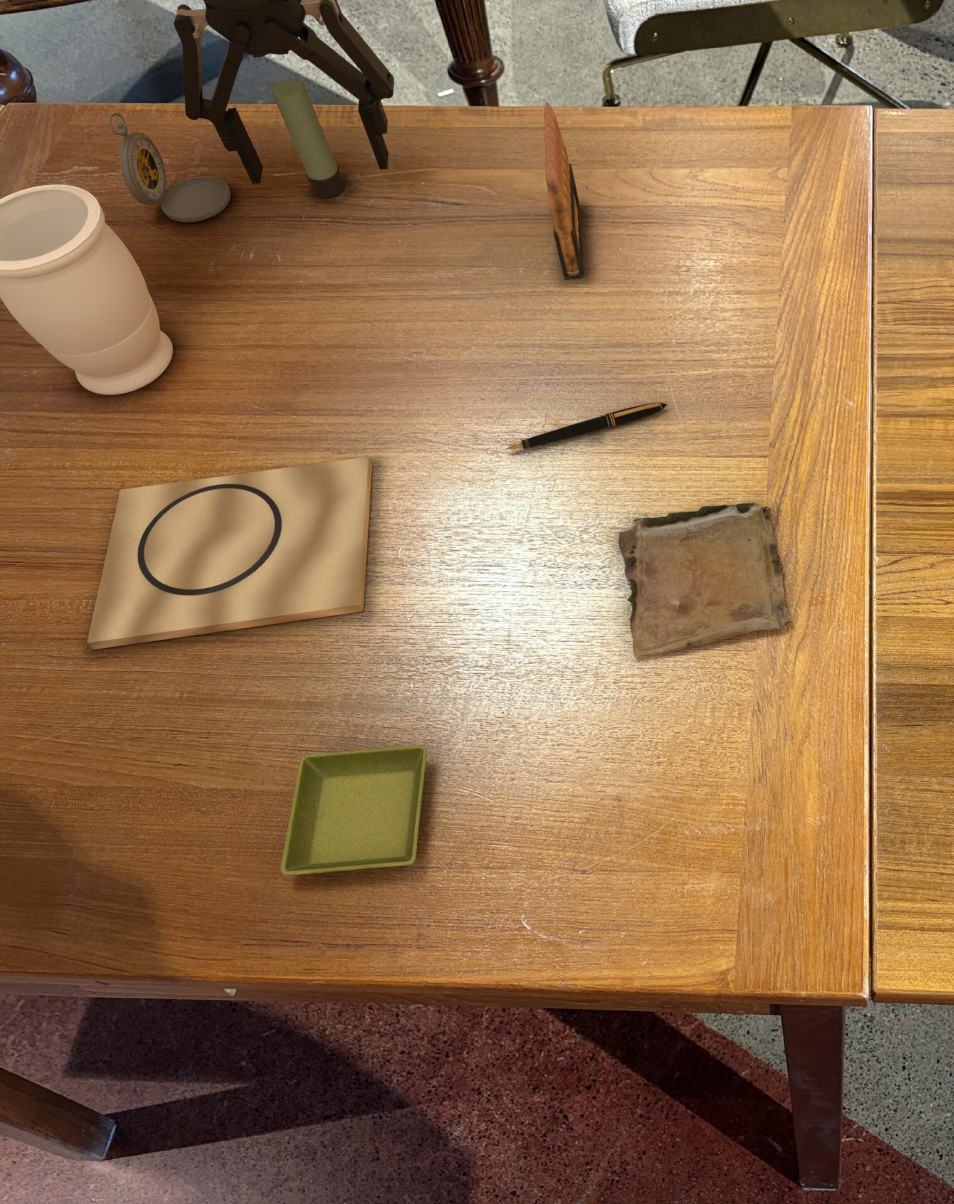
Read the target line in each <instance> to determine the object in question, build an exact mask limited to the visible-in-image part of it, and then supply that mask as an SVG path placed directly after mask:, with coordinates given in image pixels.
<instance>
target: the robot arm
mask: <svg viewBox="0 0 954 1204" xmlns="http://www.w3.org/2000/svg"><path fill="white" fill-rule="evenodd" d="M202 1H203V3H204V5H205V8H199V9H197V8H196V9H192V8H191V7H190V6H189V5H187V4H184V3H183V4H179V5H178V6H177V8H176V9H177V10H176V12H175V16H174V21H173V27H174V29H175V31H176V33H177V35H178V38H179V40H180V42H181V44H182V45H181V46H182V47H181V48H182V63H183V64H182V68H183V89H184V91H183V92H184V109H185V110H184V112H185V116H186V117H187V118H188V119H189V120H191V121H197V120H199V119H203V120H206V121H209V122H210V123H211V124H212V125H213V127H214V128H215V131H216V133H217V134H218V137H219V139H220V141H221V143H222V145H223V147H224V148H225V150H226V151H228V152H237V155H238V157H239V158H240V161H241V163H242V165H243V168H244V169H245V171H246V174H247V176H248V177H249V179H250V181H251V184H252V185H259V184H261V183H262V177H263V170H264V166H263V163H262V161H261V159H260V157H259V155H258V152H257V150H256V148H255V146H254V144H253V141H252V140H251V138H250V136H249V132H248V131H247V129H246V127H245V125H244V122H243V121H242V118H241V115H240V114H239V112H238V109H237V107H228V104H229V101H230V98H231V95H232V92H233V89H234V85H235V82H236V80H237V79H236V78H237V76H238V72H239V69H240V67H241V63H242V60H243V57H244V54H247V55H251V56H252V57H253V58H254V59H255V58H263V57H265V56H267V55H277V56H283V55H289V53H290V51H291V52H292V53H294V54H295V55H296V56H297V57H299V58H300V59H301V60H303V61H308V62H310V63H311V64H312V65H313V66H314V67H316V68H317V69H319V71H321V72H323V73H324V74H325V75H326V76H327V77H329V78H330V79H331V80H332V81H334V82H335V83H336V84H338V85H339V86H340V87H341V88H343V89H344V90H345V91H347V92H348V93H349V94H350V95H351V96H353V97H354V98H355V99H357V100H358V106H357V111H358V114H359V117H360V120H361V122H362V126H363V128H364V131H365V133H366V136H367V138H368V141H369V144H370V147H371V150H372V152H373V155H374V157H375V159H376V163H377V165H378V169H379V170H380V171H382V170H388V169H389V154H390V152H389V149H388V147H387V144H386V142H385V141H386V140H385V139H384V135H386V134H388V124H389V119H388V117H387V114H386V111H385V108H384V105H383V102H382V100H384V99H392V98H393V96H394V92H395V77H394V75H393V74H392V73H391V71H390V70H389V69H388V68H387V66H386V65H385V64H384V63H383V62H382V60H381V59H380V58H379V57H378V55H377V54H376V53H375V51H374V50H373V49H372V48H371V47H370V46H369V44H368V43H367V42H366V41H365V39H364V38H363V37H362V36H361V35H360V33H359V32H358V31H357V29H355V27H354V26H353V25H352V24H351V22H350V21H349V19H348V18H347V17H346V16H345V15H344V14H343V12H342V9H341V7H340V4H339V2H338V0H202ZM306 16H312V17H313V18H314V19H315V21H316V22H317V23H318V24H319V25H320V26H325V27H326V30H327V31H328V33H329V34H330V36H331V37H332V39H333V40H334V41H335V43H337V44H338V46H339V47H340V48H341V49H342V51H343V52H344V53H345V54H346V55H347V56H348V57H349V59H350V60H351V61H352V62H353V64H354V65H353V64H352V63H350V61H348V60H347V59H346V58H345V57H343V55H341V54H340V53H338V52H337V51H336V50H334V49H333V48H332V47H331V46H330V45H328V44H327V43H326V42H325V41H323V40H322V39H321V38H320V37H319V36H318V35H317V33H316V32H315V31H314V30H313V29H312V28H311V27H310V26H309V25H307V24H306V23H305V20H306ZM207 26H209V27H210V29H212V30H213V31H215V32H216V33H218V35H220V36H222V37H223V39H225V40H226V41H228V45H227V48H226V52H225V55H224V58H223V61H222V65H221V68H220V71H219V74H218V78H217V81H216V84H215V88H214V92H213V95H212V96H211V99H209V98H204V88H203V85H204V83H203V57H202V56H203V53H202V38H203V37H204V36H205V33H206V28H207Z"/></svg>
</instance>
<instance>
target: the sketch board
mask: <svg viewBox="0 0 954 1204" xmlns="http://www.w3.org/2000/svg"><path fill="white" fill-rule="evenodd" d="M372 463H373V462H372V461H371V458H370V457H369V456H365V457H357V458H356V457H355V458H347V459H343V460H342V459H341V460H334V461H325V462H320V463H319V462H318V463H312V464H304V465H297V466H295V465H294V466H289V467H282V468H272V469H266V470H258V471H251V472H250V471H249V472H241V473H236V474H235V473H234V474H229V475H228V474H227V475H220V476H214V477H213V476H212V477H205V478H198V479H197V478H196V479H190V480H181V481H174V482H168V483H160V484H151V485H146V486H137V487H129V488H123V489H119V493H118V496H117V497H118V498H117V503H116V506H115V512H114V516H113V520H112V525H111V530H110V535H109V539H108V543H107V548H106V552H105V557H104V562H103V567H102V571H101V575H100V580H99V585H98V589H97V594H96V598H95V602H94V603H95V604H94V608H93V613H92V619H91V621H90V626H89V630H88V637H87V640H86V643H87V645H88V646H89V647H90V648H91V649H93V650H99V649H100V650H101V649H106V648H107V649H108V648H115V647H121V646H129V645H137V644H144V643H149V642H156V641H163V640H164V641H165V640H170V639H177V638H184V637H191V636H198V635H199V636H200V635H205V634H215V633H221V632H229V631H234V630H243V629H248V628H255V627H263V626H269V625H275V624H276V625H277V624H285V623H291V622H298V621H303V620H311V619H318V618H325V617H332V616H339V615H347V614H354V613H360V612H361V613H362V612H364V610H365V609H364V607H365V593H366V592H365V591H366V575H367V574H366V573H367V559H368V558H367V557H368V539H369V525H370V510H371V509H370V507H371V492H372V491H371V490H372V473H373V464H372Z"/></svg>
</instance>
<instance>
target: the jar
mask: <svg viewBox="0 0 954 1204" xmlns="http://www.w3.org/2000/svg"><path fill="white" fill-rule="evenodd" d="M0 300H1V301H2V303H3V304H4V307H6V309H7V311H9V313H10V314H11V316H12V317H13V318H14V319H15V320H16V321H17V323H18V324H19V325H20V326H21V327H22V328H23V329H24V330H25V331H26V332H27V333H28V334H29V335H30V336H31V337H32V338H33V339H34V340H35V341H36V342H38V343H39V344H40V345H41V346H42V347H43V348H44V349H45V350H46V351H47V352H48V353H49V354H50V355H51V356H53V358H55V359H56V360H57V361H59V362H60V363H61V364H63V365H64V366H66V367H67V368H69V369H71V370H72V371H74V373H75V377H76V380H77V381H78V382H79V384H80V385H81V386H82V387H83V388H84V389H86V390H87V391H89V392H91V393H94V394H99V395H104V396H105V395H106V396H116V395H123V394H127V393H132V392H134V391H137V390H139V389H142V388H144V387H146V386H148V385H149V384H151V383H153V382H154V381H155V380H156V379H157V378H159V377H160V376H161V375H162V374H163V373H164V372H165V371H166V369H167V368H168V366H169V365H170V363H171V361H172V358H173V353H174V348H173V343H172V340H171V339H170V338H169V336H168V335H167V334H166V333H165V332H164V331H162V330H161V327H160V319H159V314H158V310H157V308H156V305H155V303H154V300H153V298H152V295H151V294H150V292H149V288H148V285H147V282H146V281H145V278H144V276H143V273H142V272H141V269H140V268H139V265H138V263H137V262H136V260H135V258H134V257H133V255H132V253H131V252H130V251H129V249H128V248H127V246H126V245H125V244H124V242H123V241H122V239H121V238H120V237H119V236H118V235H117V234H116V232H114V230H113V229H112V228H111V227H110V226H109V225H108V224H107V223H106V219H105V213H104V210H103V208H102V206H101V205H100V203H99V201H98V199H97V198H96V197H95V196H94V195H93V194H92V193H90V192H89V191H88V190H86V189H84V188H81V187H78V186H74V185H70V184H69V185H68V184H45V185H44V184H43V185H37V186H32V187H29V188H25V189H22V190H18V191H16V192H13V193H11V194H8V195H6V196H4V197H1V198H0Z"/></svg>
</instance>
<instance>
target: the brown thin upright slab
mask: <svg viewBox="0 0 954 1204" xmlns="http://www.w3.org/2000/svg"><path fill="white" fill-rule="evenodd" d="M543 111H544V112H543V117H544V118H543V119H544V143H545V144H544V152H545V155H544V156H545V158H544V159H545V161H544V163H545V183H546V189H547V195H548V204H549V205H548V206H549V210H550V215H551V219H552V223H553V224H552V225H553V237H554V241H555V245H556V250H557V254H558V258H559V263H560V267H561V271H562V275H563V279H564V280H568V279H569V280H570V279H577V278H584V277H585V269H584V252H583V248H584V247H583V232H582V231H583V229H582V211H581V209H582V207H581V204H580V199H579V194H578V190H577V185H576V181H575V176H574V172H573V166H572V164H571V163H570V160H569V156H568V152H567V147H566V144H565V141H564V138H563V137H562V132H561V130H560V125H559V121H558V119H557V116H556V114H555V111H554V109H553V107H552V106H551V104H550V103H549V102H548V101H546V102H545V104H544V109H543Z"/></svg>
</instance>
